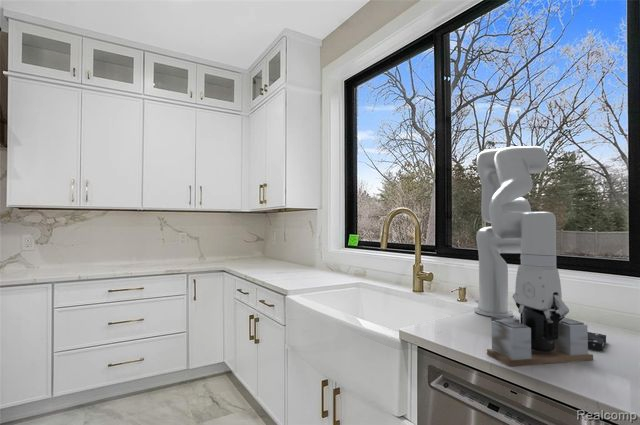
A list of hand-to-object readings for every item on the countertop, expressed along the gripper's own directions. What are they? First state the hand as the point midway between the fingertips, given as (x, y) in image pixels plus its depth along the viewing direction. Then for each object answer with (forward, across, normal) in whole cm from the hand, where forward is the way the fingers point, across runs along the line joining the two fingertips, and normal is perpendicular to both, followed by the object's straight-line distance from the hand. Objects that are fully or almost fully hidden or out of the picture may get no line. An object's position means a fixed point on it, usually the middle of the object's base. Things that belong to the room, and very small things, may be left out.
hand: (538, 333), depth 87 cm
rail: (+6, 0, 0) cm, 6 cm away
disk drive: (+6, -9, +19) cm, 22 cm away
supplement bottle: (+4, 0, 0) cm, 4 cm away
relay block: (+6, -17, +4) cm, 18 cm away
